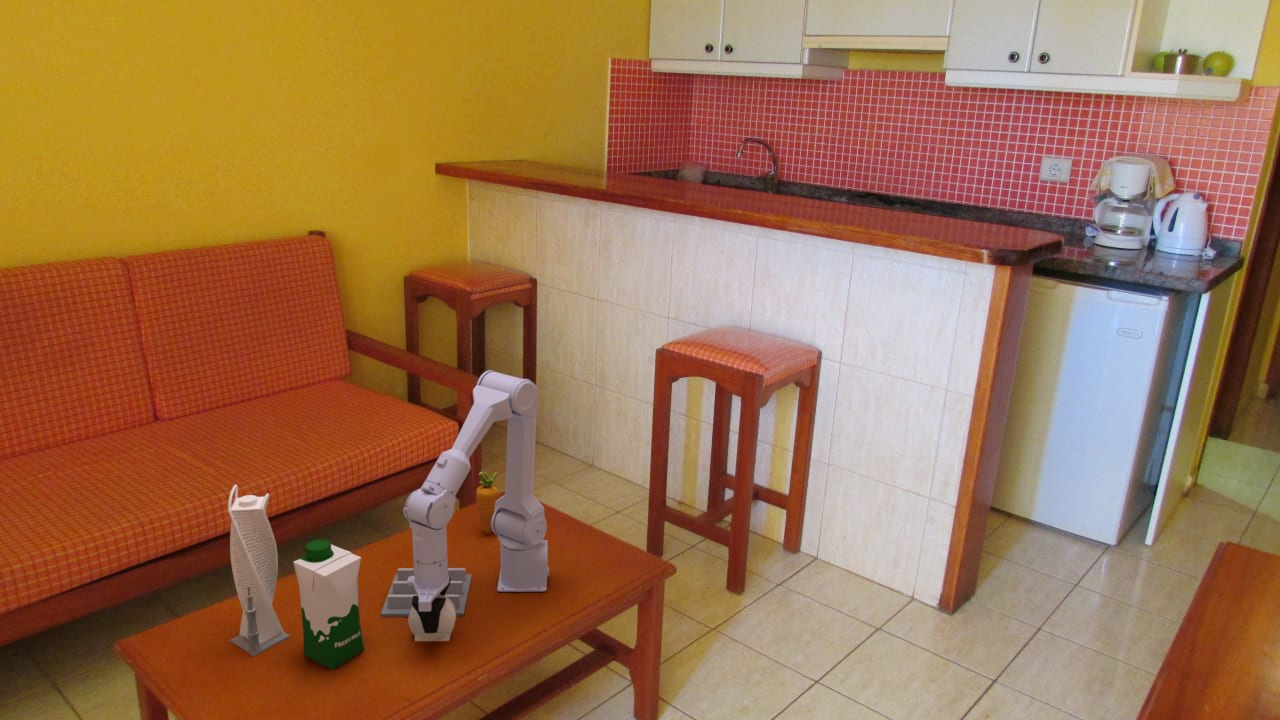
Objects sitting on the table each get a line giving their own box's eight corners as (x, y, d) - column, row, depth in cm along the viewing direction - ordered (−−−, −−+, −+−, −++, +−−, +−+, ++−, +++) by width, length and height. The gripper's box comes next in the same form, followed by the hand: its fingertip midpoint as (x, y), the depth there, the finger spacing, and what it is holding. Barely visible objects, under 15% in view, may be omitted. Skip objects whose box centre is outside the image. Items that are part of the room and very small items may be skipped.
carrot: (502, 529, 198) (501, 467, 194) (496, 540, 193) (495, 476, 189) (480, 528, 198) (478, 465, 194) (473, 538, 194) (472, 474, 189)
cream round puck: (457, 632, 160) (455, 593, 158) (455, 640, 158) (454, 600, 155) (411, 633, 159) (409, 593, 157) (409, 641, 157) (407, 601, 155)
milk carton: (337, 632, 159) (330, 530, 153) (372, 649, 154) (366, 545, 149) (295, 656, 152) (286, 551, 146) (331, 675, 147) (323, 567, 142)
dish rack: (471, 576, 178) (471, 563, 178) (463, 616, 165) (463, 601, 164) (395, 577, 177) (394, 563, 176) (380, 616, 164) (379, 602, 163)
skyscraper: (224, 639, 156) (208, 492, 148) (266, 618, 162) (253, 476, 154) (253, 656, 151) (238, 506, 143) (295, 634, 158) (282, 489, 150)
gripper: (414, 536, 161) (416, 602, 164) (398, 578, 147) (402, 649, 151) (453, 536, 161) (455, 602, 165) (442, 577, 147) (444, 649, 151)
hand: (432, 625), depth 158 cm, fingers open, 4 cm apart
